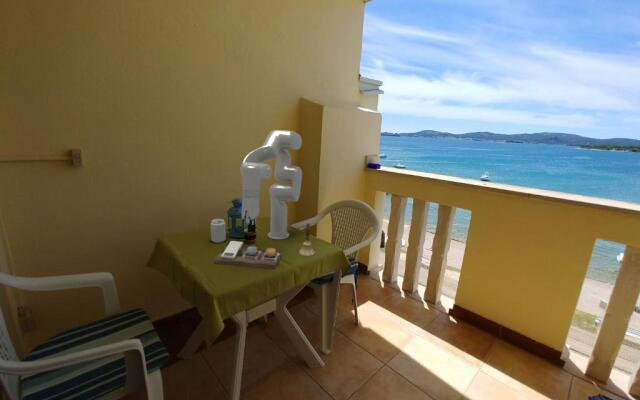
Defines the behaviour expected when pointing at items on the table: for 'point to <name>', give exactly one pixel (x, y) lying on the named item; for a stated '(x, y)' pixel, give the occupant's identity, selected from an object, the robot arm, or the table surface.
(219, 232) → the can
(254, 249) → the grey button
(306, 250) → the hand bell
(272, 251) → the orange button
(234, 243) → the rocker
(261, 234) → the table surface
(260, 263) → the panel
